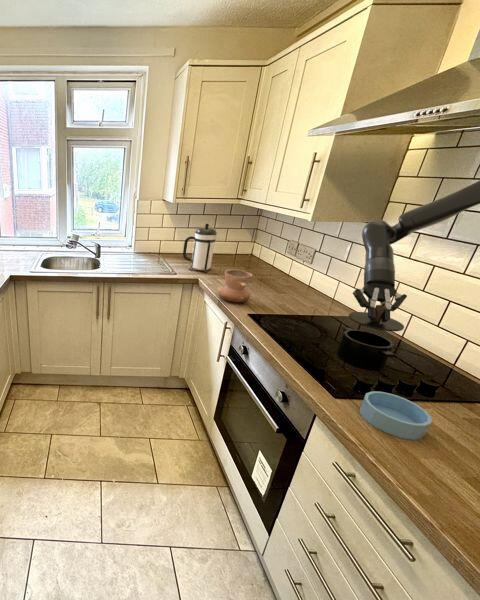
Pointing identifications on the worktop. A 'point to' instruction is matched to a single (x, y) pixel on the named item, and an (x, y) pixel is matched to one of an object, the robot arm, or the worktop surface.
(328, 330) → the worktop surface
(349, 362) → the pot
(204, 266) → the coffee press
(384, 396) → the blue round dish
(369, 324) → the lid
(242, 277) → the ceramic jug
